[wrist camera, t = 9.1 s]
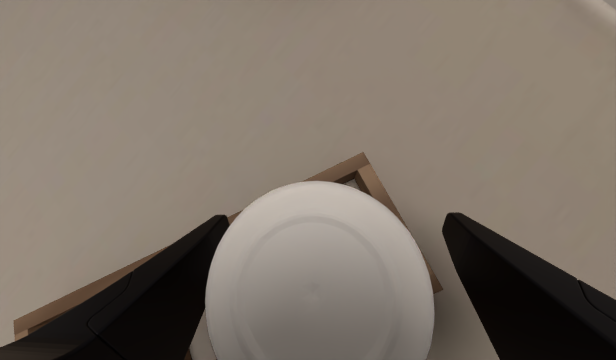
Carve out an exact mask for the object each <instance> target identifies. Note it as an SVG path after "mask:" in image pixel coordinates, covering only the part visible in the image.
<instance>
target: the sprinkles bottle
mask: <svg viewBox="0 0 616 360" xmlns="http://www.w3.org/2000/svg"><path fill="white" fill-rule="evenodd" d="M205 308H206V321H207V328H208V334H209V337H210V341H211V345H212V347H213V350H214V353H215V355H216V358H217V360H426V358H427V355H428V352H429V349H430V347H431V342H432V334H433V327H434V299H433V290H432V285H431V280H430V276H429V272H428V269H427V267H426V264H425V261H424V259H423V256H422V254H421V251H420V249H419V247H418V245H417V244H416V242H415V240H414V239H413V237H412V235H411V234H410V232H409V231H408V230H407V228H406V227H405V226H404V225H403V224H402V223H401V221H400V220H399V219H398V218H397V217H396V216H395V215H394V214H393V213H392V212H391V211H390V210H389V209H388V208H387V207H385V206H384V205H383V204H382V203H380V202H379V201H377V200H376V199H374V198H373V197H371V196H369V195H368V194H366V193H364V192H362V191H359V190H357V189H355V188H353V187H350V186H347V185H343V184H339V183H333V182H326V181H305V182H298V183H293V184H289V185H285V186H282V187H280V188H277V189H274V190H272V191H270V192H268V193H267V194H265V195H263V196H261V197H260V198H258V199H256V200H255V201H254V202H252V203H251V204H250V205H249V206H247V207H246V208H245V209H244V210H243V211H242V212H241V213H240V214H239V215H238V216H237V217H236V218H235V220H234V221H233V222H232V224H231V225H230V226H229V228H228V229H227V231H226V232H225V234H224V235H223V237H222V239H221V241H220V243H219V244H218V246H217V249H216V251H215V254H214V257H213V260H212V262H211V266H210V270H209V275H208V280H207V285H206V297H205Z"/></svg>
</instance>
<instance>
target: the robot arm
mask: <svg viewBox="0 0 616 360" xmlns="http://www.w3.org/2000/svg"><path fill="white" fill-rule="evenodd" d="M229 226H230V224H229V221H228V218H227V216H226V215H215V216H214V217H212V218H211V219H209V220H208V221H206V222H205V223H203V224H202V225H200V226H199V227H197V228H196V229H194V230H193V231H191V232H190V233H188V234H187V235H185V236H184V237H182V238H181V239H179V240H178V241H176V242H175V243H173V244H172V245H170V246H169V247H167V248H166V249H164V250H163V251H161V252H160V253H158V254H157V255H155V256H154V257H152V258H151V259H149V260H148V261H146V262H145V263H143V264H142V265H140V266H139V267H137V268H136V269H134V270H133V271H131V272H129V273H128V274H127V275H125V276H124V277H122V278H121V279H119V280H117V281H116V282H114V283H113V284H111V285H110V286H108V287H107V288H105V289H104V290H102V291H100V292H99V293H97V294H95V295H94V296H92V297H91V298H89V299H87V300H86V301H84V302H82V303H81V304H79V305H77V306H76V307H74V308H72V309H71V310H69V311H67V312H66V313H64V314H62V315H61V316H59V317H57V318H56V319H54V320H52V321H51V322H49V323H47V324H46V325H44V326H42V327H41V328H39V329H37V330H36V331H34V332H32V333H30V334H29V335H27V336H25V337H23V338H21V339H19V340H17V341H15V342H12V343H10V344H8V345H5V346H3V347H0V360H184V359H185V356H186V354H187V351H188V349H189V347H190V344H191V342H192V339H193V337H194V334H195V332H196V329H197V327H198V324H199V322H200V319H201V317H202V314H203V312H204V309H205V297H206V285H207V280H208V275H209V270H210V266H211V262H212V260H213V257H214V254H215V251H216V249H217V246H218V244H219V243H220V241H221V239H222V237H223V235H224V234H225V232H226V231H227V229H228V228H229ZM442 233H443V236H444V239H445V242H446V245H447V247H448V250H449V253H450V256H451V258H452V261H453V264H454V267H455V269H456V271H457V274H458V276H459V278H460V280H461V282H462V284H463V286H464V288H465V290H466V292H467V294H468V296H469V298H470V300H471V302H472V304H473V306H474V308H475V310H476V312H477V314H478V316H479V318H480V320H481V322H482V324H483V326H484V328H485V330H486V332H487V335H488V337H489V339H490V341H491V343H492V345H493V347H494V349H495V351H496V353H497V355H498V357H499V359H500V360H616V300H615V299H613V298H611V297H609V296H608V295H606V294H604V293H602V292H600V291H598V290H597V289H595V288H593V287H591V286H590V285H588V284H586V283H584V282H583V281H581V280H577V278H575V277H574V276H572V275H570V274H568V273H566V272H565V271H563V270H561V269H559V268H558V267H556V266H554V265H552V264H551V263H549V262H547V261H545V260H543V259H542V258H540V257H538V256H536V255H535V254H533V253H531V252H529V251H527V250H526V249H524V248H522V247H520V246H519V245H517V244H515V243H513V242H511V241H510V240H508V239H506V238H504V237H503V236H501V235H499V234H497V233H495V232H494V231H492V230H490V229H488V228H487V227H485V226H483V225H481V224H480V223H478V222H476V221H474V220H472V219H471V218H469V217H467V216H465V215H464V214H462V213H448V214H447V216H446V218H445V222H444V225H443V228H442Z"/></svg>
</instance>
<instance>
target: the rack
mask: <svg viewBox="0 0 616 360" xmlns="http://www.w3.org/2000/svg"><path fill="white" fill-rule="evenodd" d="M352 179H355V181H356V183H357V184H358V186H359V188H360V190H361V191H362V192H364V193H366V194H368V195H369V196H371V197H373V198H374V199H376V200H377V201H379V202H380V203H382V204H383V205H384V206H385V207H387V208H388V209H389V210H390V211H391V212H392V213H393V214H394V215H395V216H396V217H397V218H398V219H399V220H400V221H401V223H402V224H403V225H404V226H405V227H406V228H407V226H406V225H405V223H404V221H403V219H402V218H401V216H400V214H399V212H398V211H397V209H396V207H395V206H394V204H393V202H392V200H391V199H390V197H389V195H388V194H387V192H386V190H385V188H384V187H383V185H382V183H381V182H380V180H379V178H378V176H377V175H376V173H375V171H374V170H373V168H372V166H371V164H370V163H369V161H368V159H367V158H366V156H365V154H364V152H362V153H360V154H358V155H356V156H354V157H352V158H350V159H348V160H346V161H344V162H342V163H340V164H337V165H335V166H333V167H331V168H329V169H327V170H325V171H323V172H321V173H319V174H317V175H315V176H313V177H311V178H308V179H306V180H304V181H302V182H305V181H326V182H333V183H339V184H344V183H346V182H348V181H350V180H352ZM242 211H243V210H242ZM242 211H240V212H238V213H236V214H234V215H232V216H230V217H228V221H229V224H230V225H231V224H232V222H233V221H234V220H235V218H236V217H237V216H238V215H239V214H240V213H241V212H242ZM407 230H408V228H407ZM408 231H409V230H408ZM409 232H410V231H409ZM410 234H411V233H410ZM413 239H414V238H413ZM416 244H417V243H416ZM167 247H169V246H167ZM167 247H165V248H163V249H161V250H159V251H157V252H155V253H153V254H151V255H149V256H147V257H145V258H143V259H141V260H138V261H136V262H134V263H132V264H130V265H128V266H126V267H124V268H122V269H120V270H118V271H116V272H114V273H112V274H109V275H107V276H105V277H103V278H101V279H99V280H97V281H95V282H93V283H91V284H89V285H87V286H85V287H82V288H80V289H78V290H76V291H74V292H72V293H70V294H68V295H66V296H64V297H62V298H60V299H58V300H56V301H53V302H51V303H49V304H47V305H45V306H43V307H41V308H39V309H37V310H35V311H33V312H31V313H29V314H27V315H24V316H22V317H20V318H18V319H16V320H14V334H15V341H17V340H19V339H21V338H23V337H25V336H27V335H29V334H30V333H32V332H34V331H36V330H37V329H39V328H41V327H42V326H44V325H46V324H47V323H49V322H51V321H52V320H54V319H56V318H57V317H59V316H61V315H62V314H64V313H66V312H67V311H69V310H71V309H72V308H74V307H76V306H77V305H79V304H81V303H82V302H84V301H86V300H87V299H89V298H91V297H92V296H94V295H95V294H97V293H99V292H100V291H102V290H104V289H105V288H107V287H108V286H110V285H111V284H113V283H114V282H116V281H117V280H119V279H121V278H122V277H124V276H125V275H127V274H128V273H129V272H131V271H133V270H134V269H136V268H137V267H139V266H140V265H142V264H143V263H145V262H146V261H148V260H149V259H151V258H152V257H154V256H155V255H157V254H158V253H160V252H161V251H163V250H164V249H166V248H167ZM420 251H421V250H420ZM421 254H422V252H421ZM422 256H423V259H424V261H425V264H426V267H427V269H428V272H429V276H430V280H431V285H432V290H433V294H435V293H437V292H439V291H441V290H443V288H442V286H441V285H440V283H439V281H438V279H437V278H436V276H435V274H434V273H433V271H432V269H431V267H430V266H429V264H428V262H427V261H426V259H425V257H424V255H423V254H422ZM184 360H192V359H191V355H190V351H189V349H188V351H187V354H186V356H185V359H184Z"/></svg>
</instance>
